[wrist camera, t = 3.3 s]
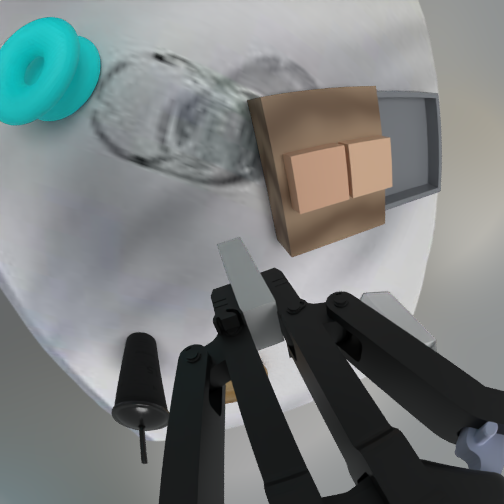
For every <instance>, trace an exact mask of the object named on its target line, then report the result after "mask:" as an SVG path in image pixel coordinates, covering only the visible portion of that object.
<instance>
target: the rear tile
mask: <svg viewBox="0 0 504 504" xmlns="http://www.w3.org/2000/svg"><path fill="white" fill-rule="evenodd" d="M338 144H342V145H344V146H345V155H346V164H347V174H348V186H349V196H350V197H352V198H356V197H359V196H363V195H366V194H369V193H373V192H376V191H380V190H383V189H387V188H390V187H392V158H391V142H390V137H385V136H381V135H377V136H370V137H364V138H357V139H351V140H346V141H340V142H338Z"/></svg>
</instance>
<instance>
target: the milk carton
mask: <svg viewBox="0 0 504 504" xmlns="http://www.w3.org/2000/svg"><path fill="white" fill-rule="evenodd" d="M361 301H362V302H364V303H365V304H367V305H368V306H370V307H371V308H373V309H374V310H376V311H377V312H379V313H380V314H382V315H383V316H384V317H386V318H387V319H389V320H390V321H392V322H393V323H395V324H396V325H398V326H399V327H401V328H402V329H404V330H405V331H407V332H408V333H410V334H411V335H412V336H414V337H415V338H417V339H418V340H420V341H421V342H423V343H424V344H426V345H427V346H428V347H430V348H431V349H433V350H434V351H436V352H437V344H436V343H437V342H436V339H435V338H434V337H433V336H432V335H431V334H430V333H429V332H428V330H426V328H425V327H424V326H423V325H421V323H420V322H419V321H418V320H417V319H416V318H415V317H414V316H413V315H412V314H411V313H410V312H409V311H408V310H407V309H406V308H405V307H404V306H403V305H402V304H401V303H400V302H399V301H398V300H397V299H396V298H395V297H394V296H393V295H392V294H391V293H390V292H380V293H364V294H363V296H362V299H361Z"/></svg>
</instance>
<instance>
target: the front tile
mask: <svg viewBox="0 0 504 504" xmlns="http://www.w3.org/2000/svg"><path fill="white" fill-rule="evenodd" d="M283 158H284V163H285V169H286V174H287V180H288V185H289V191H290V197H291V203H292V208H293V209H294V210H295V211H297V212H298V213H299V214H303V213H307V212H310V211H313V210H316V209H320V208H323V207H326V206H329V205H333V204H336V203H339V202H343V201H346V200H349V186H348V174H347V164H346V155H345V146H344V145H342V144H338V143H329V144H324V145H319V146H315V147H310V148H305V149H301V150H296V151H292V152H287V153H283Z"/></svg>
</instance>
